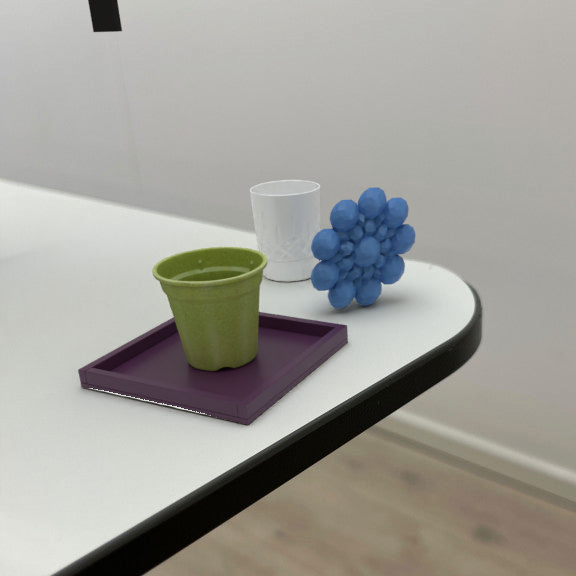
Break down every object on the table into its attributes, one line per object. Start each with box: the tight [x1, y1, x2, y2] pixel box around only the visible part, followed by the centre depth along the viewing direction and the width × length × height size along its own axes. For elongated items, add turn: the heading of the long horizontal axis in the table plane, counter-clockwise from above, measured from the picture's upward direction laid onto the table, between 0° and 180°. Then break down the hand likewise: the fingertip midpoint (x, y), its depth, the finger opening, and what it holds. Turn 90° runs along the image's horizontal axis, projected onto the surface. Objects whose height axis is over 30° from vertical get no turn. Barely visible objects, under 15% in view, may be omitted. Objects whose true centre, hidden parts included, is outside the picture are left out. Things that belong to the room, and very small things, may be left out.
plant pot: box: [151, 246, 267, 371], centre depth 65 cm, size 9×9×9 cm
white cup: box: [249, 179, 322, 283], centre depth 87 cm, size 8×8×10 cm
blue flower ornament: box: [309, 186, 416, 309], centre depth 77 cm, size 12×7×12 cm, turn 116°
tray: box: [77, 311, 349, 426], centre depth 67 cm, size 17×17×2 cm
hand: (50, 36), depth 64 cm, fingers open, 13 cm apart
